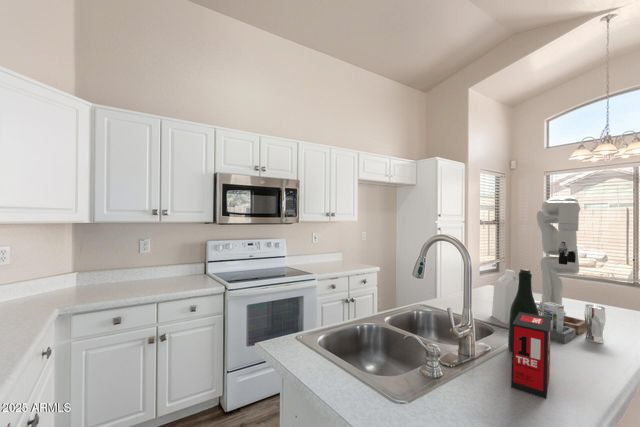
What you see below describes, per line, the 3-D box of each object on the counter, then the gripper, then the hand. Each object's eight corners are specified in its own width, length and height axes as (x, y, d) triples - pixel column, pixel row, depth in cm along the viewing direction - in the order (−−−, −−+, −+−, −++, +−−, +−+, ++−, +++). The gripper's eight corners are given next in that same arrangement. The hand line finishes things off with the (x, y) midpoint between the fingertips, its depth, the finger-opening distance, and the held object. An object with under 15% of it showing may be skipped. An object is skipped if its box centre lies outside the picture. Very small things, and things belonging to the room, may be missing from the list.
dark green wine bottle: (533, 349, 125) (535, 268, 125) (544, 361, 115) (546, 272, 115) (504, 345, 127) (506, 266, 128) (512, 357, 117) (514, 270, 118)
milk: (527, 324, 155) (528, 272, 155) (504, 323, 155) (505, 272, 155) (513, 316, 167) (514, 268, 167) (491, 315, 167) (492, 268, 167)
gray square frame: (530, 333, 142) (530, 325, 142) (541, 328, 149) (541, 320, 149) (564, 343, 131) (564, 334, 131) (575, 337, 138) (575, 328, 138)
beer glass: (586, 341, 134) (587, 307, 134) (582, 336, 140) (582, 303, 140) (607, 345, 131) (608, 309, 131) (602, 339, 137) (602, 305, 137)
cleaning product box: (546, 399, 90) (547, 331, 90) (511, 387, 96) (512, 323, 96) (549, 377, 103) (550, 317, 103) (518, 368, 109) (519, 311, 109)
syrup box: (541, 333, 142) (542, 302, 142) (550, 332, 144) (551, 301, 144) (554, 338, 136) (555, 306, 137) (563, 337, 138) (564, 305, 139)
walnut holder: (545, 326, 151) (545, 317, 151) (555, 322, 159) (555, 313, 159) (578, 335, 141) (578, 326, 141) (587, 330, 148) (587, 321, 148)
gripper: (565, 226, 154) (564, 260, 154) (551, 227, 144) (550, 263, 145) (584, 227, 147) (583, 262, 148) (570, 228, 138) (569, 266, 138)
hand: (567, 263), depth 146 cm, fingers open, 9 cm apart
